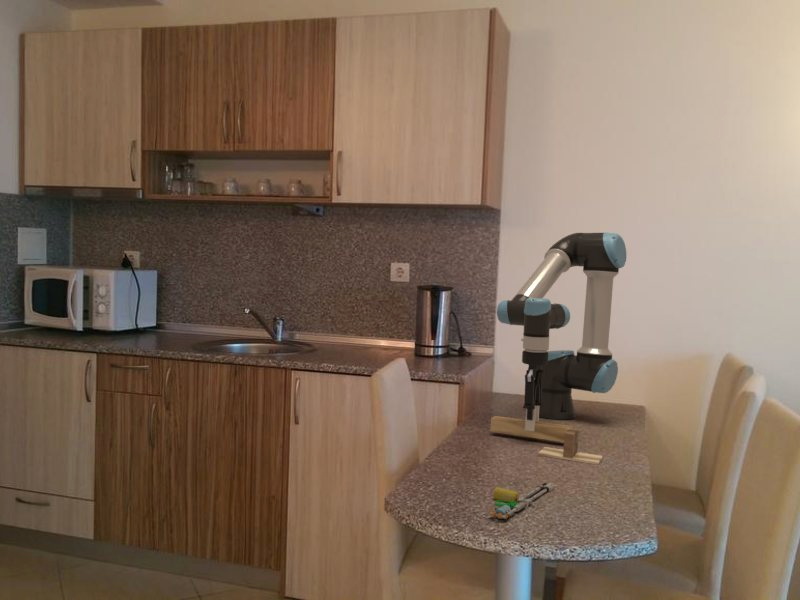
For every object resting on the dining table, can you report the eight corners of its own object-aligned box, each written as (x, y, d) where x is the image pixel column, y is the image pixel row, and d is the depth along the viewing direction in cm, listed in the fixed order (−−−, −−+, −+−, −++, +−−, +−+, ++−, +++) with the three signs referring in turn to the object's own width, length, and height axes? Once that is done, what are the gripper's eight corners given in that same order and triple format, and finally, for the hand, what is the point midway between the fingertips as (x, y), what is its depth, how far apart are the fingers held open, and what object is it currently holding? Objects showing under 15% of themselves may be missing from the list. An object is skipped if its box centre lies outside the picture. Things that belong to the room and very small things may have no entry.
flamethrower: (467, 514, 137) (514, 528, 132) (469, 501, 137) (516, 514, 132) (520, 483, 162) (561, 494, 157) (521, 472, 162) (563, 483, 157)
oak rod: (494, 428, 211) (495, 416, 211) (573, 440, 201) (574, 426, 201) (490, 431, 208) (491, 418, 207) (570, 442, 197) (571, 429, 197)
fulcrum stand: (544, 449, 194) (545, 424, 194) (602, 457, 188) (604, 432, 187) (537, 455, 187) (539, 429, 187) (598, 464, 180) (600, 438, 180)
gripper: (529, 346, 212) (526, 421, 214) (515, 352, 197) (511, 433, 198) (554, 348, 209) (550, 424, 211) (541, 354, 193) (537, 436, 195)
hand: (531, 428), depth 204 cm, fingers open, 4 cm apart
